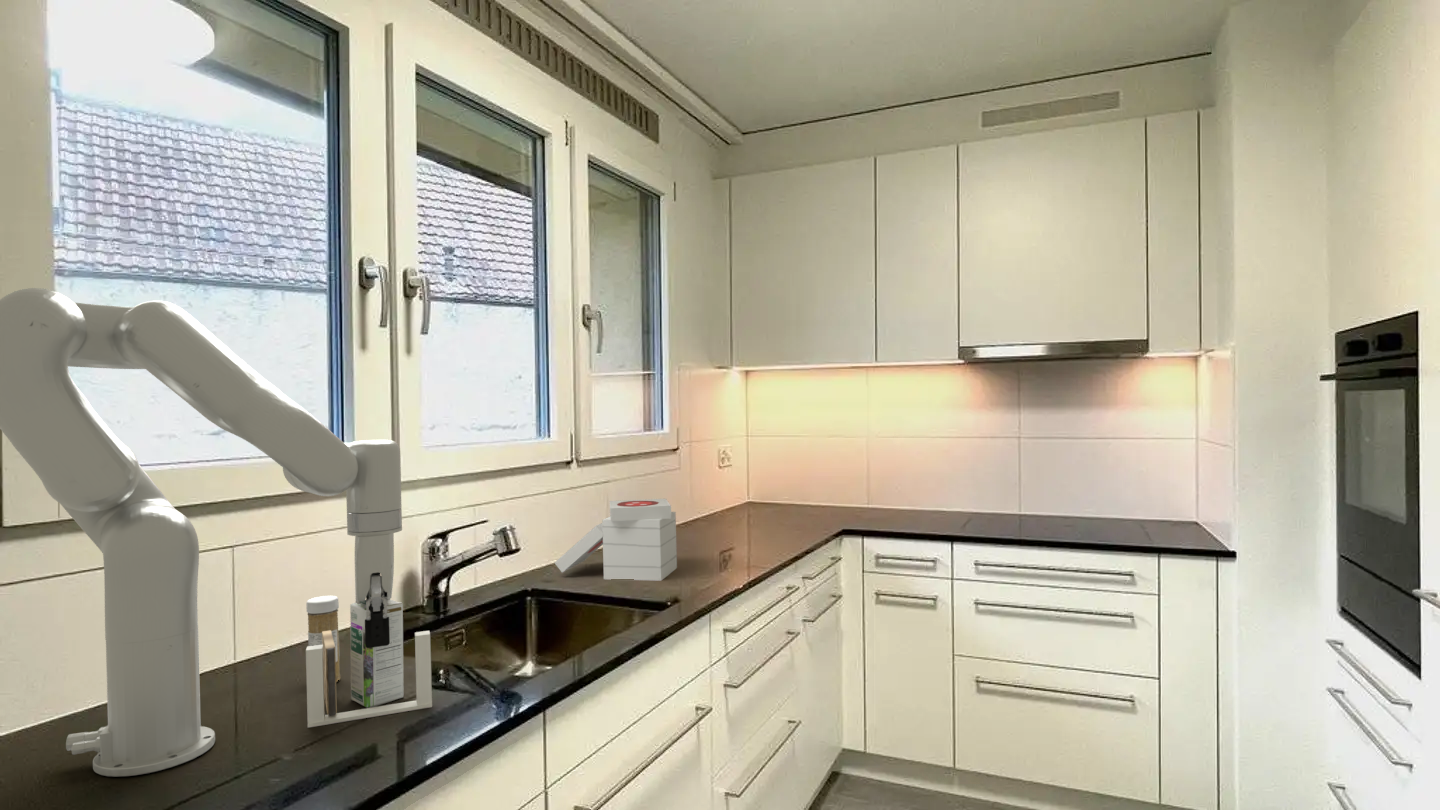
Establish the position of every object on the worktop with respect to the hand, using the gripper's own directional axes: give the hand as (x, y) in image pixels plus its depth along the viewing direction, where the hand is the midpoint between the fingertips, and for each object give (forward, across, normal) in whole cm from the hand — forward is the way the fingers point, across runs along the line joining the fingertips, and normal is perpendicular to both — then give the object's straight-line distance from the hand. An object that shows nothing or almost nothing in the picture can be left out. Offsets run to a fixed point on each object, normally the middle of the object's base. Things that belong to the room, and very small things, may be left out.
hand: (377, 637), depth 117 cm
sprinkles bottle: (+9, -12, -8) cm, 17 cm away
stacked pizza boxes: (+9, -67, +57) cm, 88 cm away
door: (+8, +1, -6) cm, 11 cm away
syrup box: (+9, 0, 0) cm, 9 cm away
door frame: (+9, +6, -1) cm, 11 cm away
